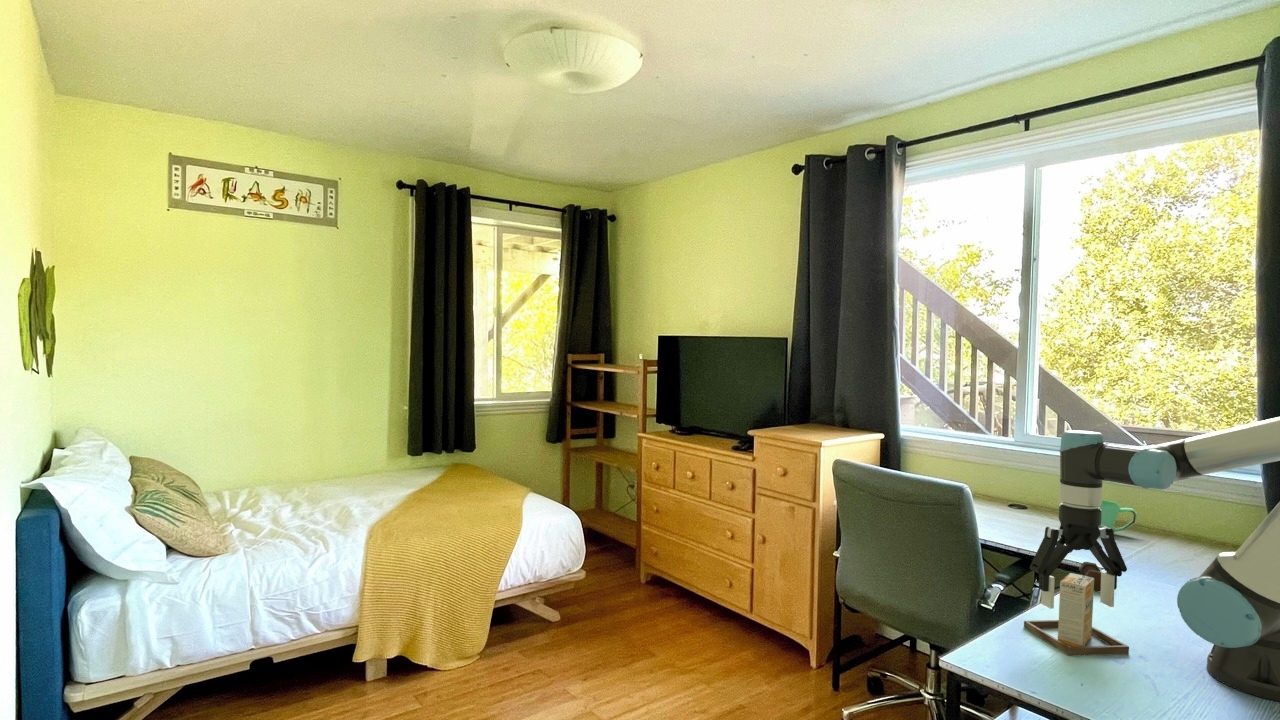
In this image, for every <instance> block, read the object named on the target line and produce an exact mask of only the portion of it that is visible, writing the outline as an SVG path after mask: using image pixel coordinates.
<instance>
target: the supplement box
mask: <svg viewBox="0 0 1280 720" xmlns="http://www.w3.org/2000/svg"><path fill="white" fill-rule="evenodd" d="M1094 592H1095V591H1094V578H1092V577H1087V576H1083V575H1082V574H1077V573H1072V572H1070V573H1068V574H1067V575H1065V577H1063V578H1062V579H1061V580H1060V581H1059V603H1058V605H1059V606H1058V620H1059V623H1058V628H1057V640H1059V641H1061V642H1062V643H1064V644H1065V645H1067V646H1069V647H1085V646H1086V644H1087V643H1088V642H1089V640H1090V639H1092V635H1091V634H1092V627H1093V613H1094V612H1093V611H1094V594H1095V593H1094Z"/></svg>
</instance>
